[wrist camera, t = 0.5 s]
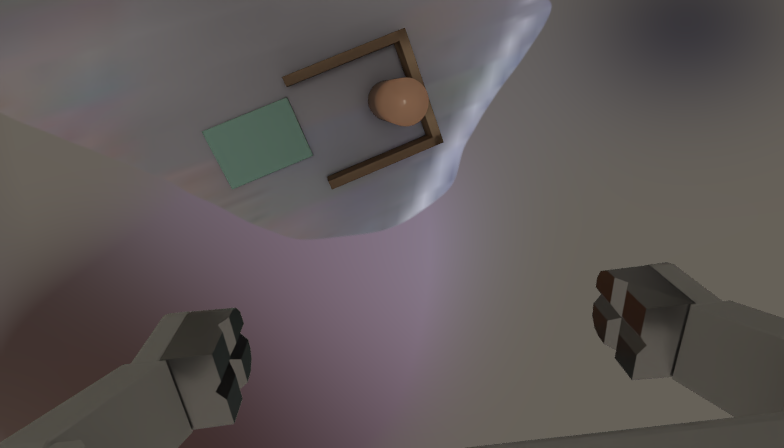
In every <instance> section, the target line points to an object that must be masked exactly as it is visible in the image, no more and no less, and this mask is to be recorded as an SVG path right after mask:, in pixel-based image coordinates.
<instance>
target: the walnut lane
mask: <svg viewBox="0 0 784 448" xmlns="http://www.w3.org/2000/svg"><path fill="white" fill-rule="evenodd" d="M392 44H394V45H395V48H396V51H397V54H398V57H399V59H400V62H401V65H402V68H403V71H404V74H405V77H407V78H413V79H415V80H417V81H419V82H420V83H421V84H422V85H423V86H424V83H423V80H422V77H421V74H420V71H419V68H418V65H417V62H416V59H415V56H414V53H413V50H412V47H411V44H410V41H409V38H408V36H407V33H406V30H405V28H403V29H400V30H398V31H395V32H393V33H390V34H388V35H385V36H383V37H380V38H378V39H375V40H373V41H370V42H368V43H365V44H363V45H360V46H358V47H355V48H353V49H350V50H348V51H345V52H343V53H341V54H338V55H336V56H333V57H331V58H328V59H326V60H323V61H321V62H318V63H316V64H313V65H311V66H308V67H306V68H303V69H301V70H298V71H296V72H293V73H291V74H288V75H286V76H283V77H282V78H283V80H284V83H285V85H286V87H288V86H291V85H293V84H295V83H298V82H300V81H303V80H305V79H308V78H310V77H313V76H315V75H318V74H320V73H323V72H325V71H328V70H330V69H333V68H335V67H338V66H340V65H342V64H345V63H347V62H350V61H352V60H355V59H357V58H360V57H362V56H365V55H367V54H370V53H372V52H375V51H377V50H380V49H382V48H385V47H387V46H389V45H392ZM424 87H425V86H424ZM421 122H422V125H423V128H424V131H425V134H426V135H425V136H423V137H420V138H418V139H415V140H413V141H411V142H408V143H406V144H404V145H401V146H399V147H396V148H394V149H392V150H389V151H387V152H385V153H382V154H380V155H378V156H375V157H373V158H370V159H368V160H366V161H363V162H361V163H359V164H356V165H354V166H351V167H349V168H347V169H344V170H342V171H340V172H337V173H335V174H333V175H330V176H328V177H327V178H328V181H329V184H330V186H331V188H332V189H334V188H337V187H339V186H341V185H344V184H346V183H348V182H351V181H353V180H356V179H358V178H360V177H363V176H365V175H367V174H370V173H372V172H374V171H377V170H379V169H381V168H384V167H386V166H389V165H391V164H393V163H396V162H398V161H400V160H403V159H405V158H407V157H410V156H412V155H414V154H417V153H419V152H421V151H424V150H426V149H429V148H431V147H433V146H436V145H438V144H440V143H443V139H442V136H441V133H440V130H439V127H438V124H437V122H436V119H435V116H434V113H433V110H432V107H431V104H430V101H429V105H428V110H427V112H426V114H425V116H424V117H423V118H422V120H421Z"/></svg>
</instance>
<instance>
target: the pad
mask: <svg viewBox="0 0 784 448" xmlns="http://www.w3.org/2000/svg"><path fill="white" fill-rule="evenodd" d="M202 133H203V135H204V137H205V139H206V141H207V143H208V145H209V146H210V148H211V150H212V152H213V154H214V156H215V158H216V160H217V162H218V163H219V165H220V167H221V169H222V171H223V173H224V175H225V177H226V179H227V180H228V182H229V184H230V186H231V188H232V189H234V188H237V187H239V186H241V185H244V184H246V183H249V182H251V181H253V180H256V179H258V178H261V177H263V176H265V175H268V174H270V173H273V172H275V171H277V170H280V169H282V168H285V167H287V166H289V165H292V164H294V163H296V162H299V161H301V160H304V159H306V158H308V157H311V156H313V154H312V152H311V150H310V148H309V145H308V143H307V141H306V139H305V137H304V134H303V132H302V130H301V128H300V125H299V123H298V121H297V119H296V116H295V114H294V112H293V110H292V108H291V105H290V103H289V101H288V99H287V97H286V98H284V99H281V100H279V101H276V102H274V103H272V104H269V105H267V106H264V107H262V108H259V109H257V110H254V111H252V112H249V113H247V114H244V115H242V116H239V117H237V118H235V119H232V120H230V121H227V122H225V123H222V124H220V125H217V126H215V127H212V128H210V129H207V130H205V131H203V132H202Z"/></svg>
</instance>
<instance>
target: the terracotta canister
mask: <svg viewBox="0 0 784 448" xmlns="http://www.w3.org/2000/svg"><path fill="white" fill-rule="evenodd" d="M368 104H369V108H370V110H371V112H372V113H373V114H374V115H375V116H376V117H377V118H379V119H382V120H384V121H387V122H390V123H393V124H396V125H400V126H411V125H414V124H416V123H418V122H419V121H420V120H422V118H423V117H424V116H425V114H426V112H427V110H428V105H429V98H428V94H427V91H426V89H425V87H424V86H423V85H422V84H421V83H420V82H419V81H417V80H415V79H413V78H407V77H405V78H398V79H392V80H385V81H381V82H379V83H377V84H376V85H374V86H373V88H372V89H371V91H370V93H369V96H368Z"/></svg>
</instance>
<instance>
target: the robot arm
mask: <svg viewBox="0 0 784 448" xmlns="http://www.w3.org/2000/svg"><path fill="white" fill-rule="evenodd" d="M596 288H597V289H598V291H599V292H600V293H601V295H600V296H599V298H598V299H597V300H596V301H595V302H594V304H593V313H592V317H593V322H594V328H595V330H596V332H597V334H598V336H599V338H600V339H601V340H602V342H603V343H604V344H605V345H607V346H609V347H611V348H613V349H615V350H616V353H615V359H616V360H617V361H618V363H619V364H620V365H621V367H622V368H623V369H624V371H625V372H626V373H627V374H628V376H629V377H630V378H631V380H640V379H652V378H664V377H672V379H673V380H675V381H677V382H678V383H680V384H682V385H683V386H685V387H686V388H688V389H690V390H691V391H693V392H695V393H696V394H698V395H700V396H701V397H703V398H705V399H706V400H708V401H710V402H711V403H713V404H714V405H716V406H718V407H719V408H721V409H722V410H724V411H726V412H727V413H729V414H731V415H732V416H734V417H733V418H725V419H717V420H707V421H698V422H689V423H680V424H671V425H662V426H653V427H644V428H635V429H626V430H617V431H608V432H600V433H591V434H582V435H573V436H565V437H555V438H546V439H537V440H528V441H520V442H512V443H502V444H494V445H485V446H477V447H467V448H784V318H782V317H779V316H776V315H772V314H769V313H766V312H763V311H760V310H757V309H754V308H751V307H748V306H745V305H742V304H739V303H736V302H733V301H722V300H720V299H719V298H718V297H717V296H715V295H714V294H713V293H711V292H710V291H709V290H707V289H706V288H704V287H703V286H702V285H701V284H699V283H698V282H697V281H695V280H694V279H693V278H691V277H690V276H689V275H687V274H686V273H684V272H683V271H682V270H681V269H679V268H678V267H677V266H676V265H674V264H671V263H668V262H665V263H657V264H650V265H644V266H638V267H629V268H621V269H613V270H605V271H600V273H599V275H598V277H597V282H596ZM243 324H244V323H243V320H242V316H241V313H240V311H239V310H238V309H237V308H227V309H215V310H203V311H192V312H180V313H172V314H168V315H165V316H163V318H162V319H161V321H160V322H159V324H158V325H157V327H156V328H155V329H154V331H153V332H152V334H151V335H150V337H149V338H148V340H147V341H146V342H145V344H144V345H143V347H142V348H141V350H140V351H139V353H138V354H137V356H136V357H135V359H134V360H133V362H132V363H131V364H126V365H122V366H120V367H119V368H117V369H116V370H114V371H112V372H111V373H109V374H108V375H106V376H105V377H103V378H102V379H100V380H99V381H97V382H95V383H94V384H92V385H91V386H89V387H87V388H86V389H85V390H83V391H81V392H79V393H78V394H76V395H75V396H73V397H72V398H70V399H68V400H67V401H65V402H64V403H62V404H60V405H59V406H57V407H56V408H54V409H53V410H51V411H49V412H48V413H46V414H45V415H43V416H42V417H40V418H39V419H37V420H35V421H34V422H32V423H30V424H29V425H27V426H26V427H24V428H23V429H21V430H19V431H18V432H16V433H15V434H13V435H12V436H10V437H8V438H7V439H5V440H4V441H2V442H1V443H0V448H178V447H179V446H180V444H182V443H183V442H184V440H185V439H186V438H187V437H188V436H189V435H190V434H191V433H192V430H193V429H200V428H208V427H214V426H222V425H230V424H234V423H235V420H236V417H237V414H238V411H239V408H240V405H241V401H242V395H241V391H240V389H241V388H242V387H243V386H244V385H245V384H246V383H247V382H248V379H249V376H250V372H251V350H250V345H249V341H248V339H247V338H245V337H244V336H243V335H242V334H241V333H240V332H241V329H242V327H243Z"/></svg>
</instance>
